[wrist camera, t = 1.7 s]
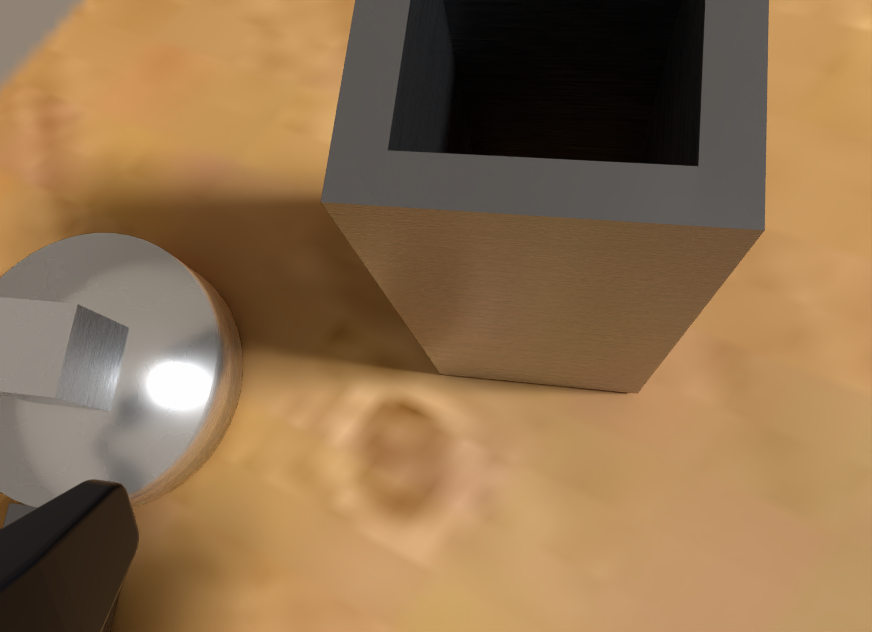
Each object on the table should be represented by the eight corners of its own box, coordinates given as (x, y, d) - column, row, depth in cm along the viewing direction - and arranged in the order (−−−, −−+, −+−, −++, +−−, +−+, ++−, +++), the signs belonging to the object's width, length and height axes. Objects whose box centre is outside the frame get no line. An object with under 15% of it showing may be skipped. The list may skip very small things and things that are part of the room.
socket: (637, 393, 21) (765, 230, 9) (440, 373, 22) (320, 202, 10) (648, 207, 22) (771, -147, 10) (462, 196, 23) (380, -142, 11)
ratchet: (34, 246, 25) (-71, 189, 21) (264, 264, 24) (202, 208, 19) (-142, 909, 20) (-326, 1015, 16) (131, 976, 19) (11, 1110, 15)
